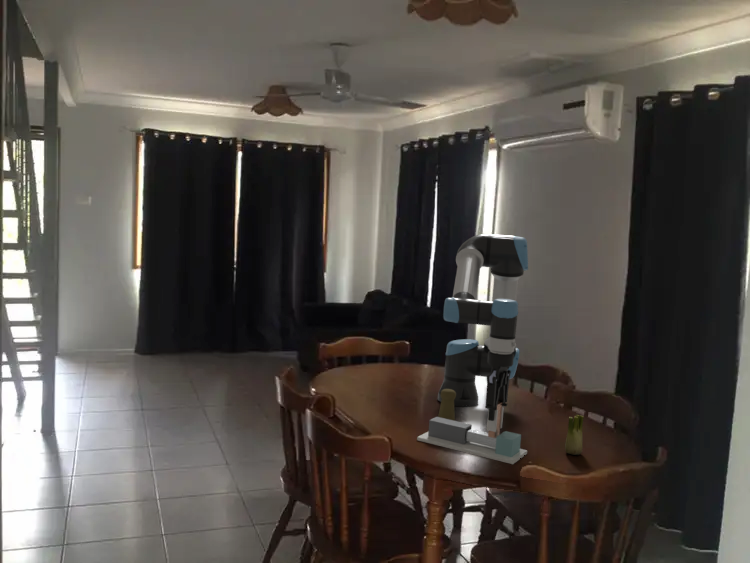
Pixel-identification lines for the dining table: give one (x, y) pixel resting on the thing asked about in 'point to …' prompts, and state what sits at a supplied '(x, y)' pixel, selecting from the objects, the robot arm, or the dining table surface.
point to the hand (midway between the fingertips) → (494, 428)
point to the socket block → (508, 444)
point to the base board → (472, 448)
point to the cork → (447, 404)
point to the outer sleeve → (448, 430)
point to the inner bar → (485, 433)
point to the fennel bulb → (574, 436)
